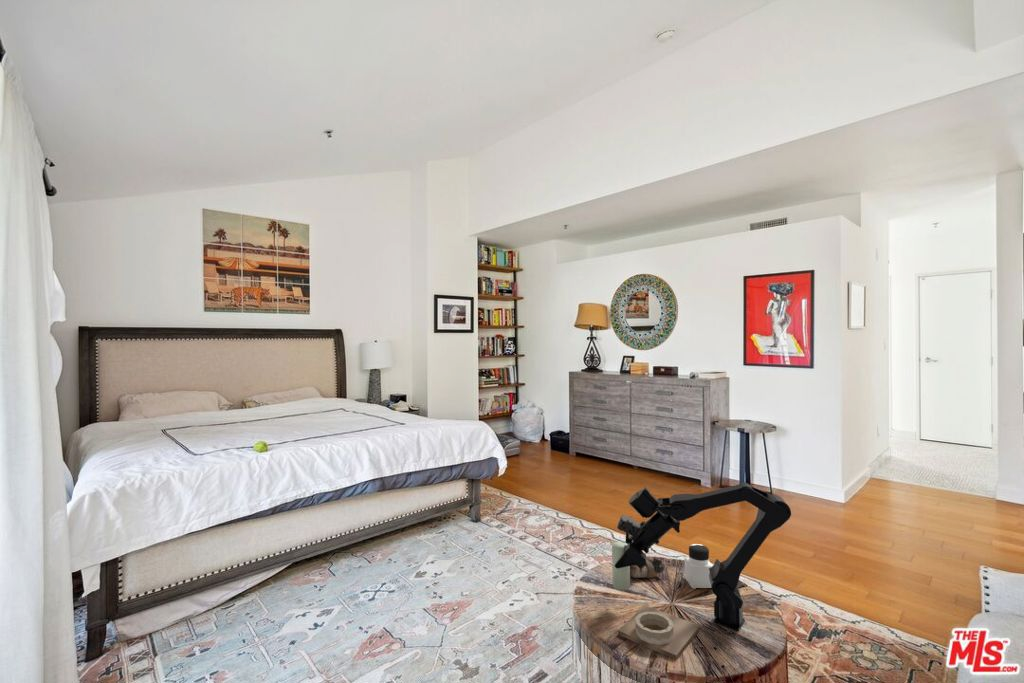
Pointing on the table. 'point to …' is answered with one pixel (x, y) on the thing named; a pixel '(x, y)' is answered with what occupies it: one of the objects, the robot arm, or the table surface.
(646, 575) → the dark brown lumpy piece
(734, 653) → the table surface
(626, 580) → the pale green peg
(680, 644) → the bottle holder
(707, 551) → the medicine bottle
